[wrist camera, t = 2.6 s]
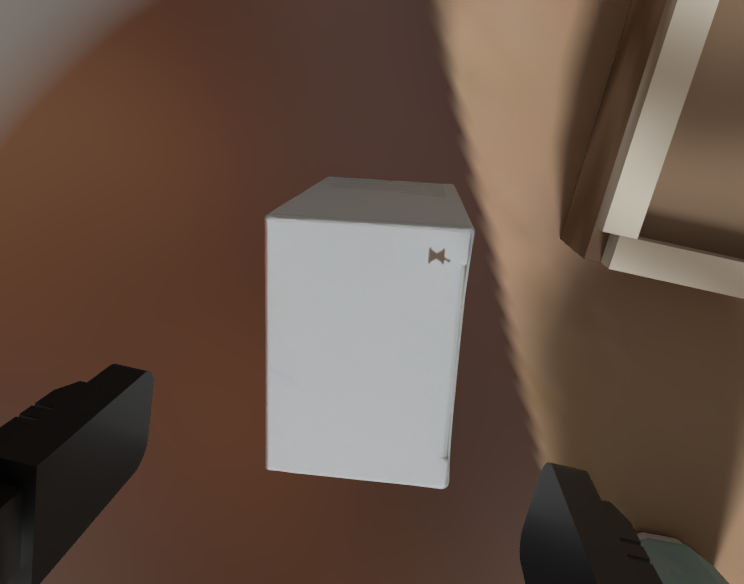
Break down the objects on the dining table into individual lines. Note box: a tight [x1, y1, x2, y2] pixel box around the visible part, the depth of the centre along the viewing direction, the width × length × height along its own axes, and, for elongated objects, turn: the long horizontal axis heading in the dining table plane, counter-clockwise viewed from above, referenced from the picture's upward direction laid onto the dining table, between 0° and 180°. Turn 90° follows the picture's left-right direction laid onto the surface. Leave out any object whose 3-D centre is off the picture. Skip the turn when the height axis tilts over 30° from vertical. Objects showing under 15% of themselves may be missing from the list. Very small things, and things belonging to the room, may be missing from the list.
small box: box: [265, 176, 475, 489], centre depth 21 cm, size 8×6×10 cm
